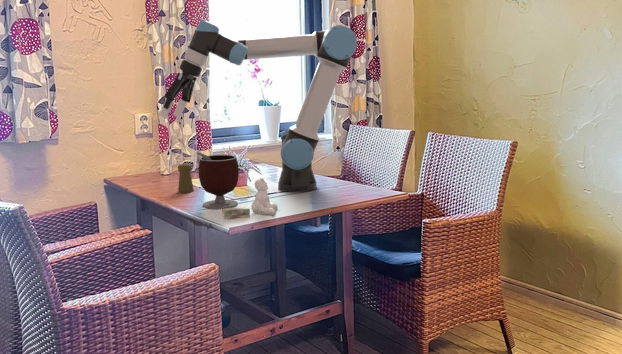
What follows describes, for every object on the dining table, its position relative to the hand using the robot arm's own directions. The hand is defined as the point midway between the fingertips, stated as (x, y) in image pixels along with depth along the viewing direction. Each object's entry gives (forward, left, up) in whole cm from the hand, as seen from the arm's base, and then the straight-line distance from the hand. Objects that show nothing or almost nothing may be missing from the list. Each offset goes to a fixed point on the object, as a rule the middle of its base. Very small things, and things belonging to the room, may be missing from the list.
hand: (169, 116), depth 227 cm
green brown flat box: (-19, +30, -31) cm, 47 cm away
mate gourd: (-15, +16, -31) cm, 38 cm away
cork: (-5, -12, -31) cm, 33 cm away
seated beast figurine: (-29, +31, -31) cm, 52 cm away
